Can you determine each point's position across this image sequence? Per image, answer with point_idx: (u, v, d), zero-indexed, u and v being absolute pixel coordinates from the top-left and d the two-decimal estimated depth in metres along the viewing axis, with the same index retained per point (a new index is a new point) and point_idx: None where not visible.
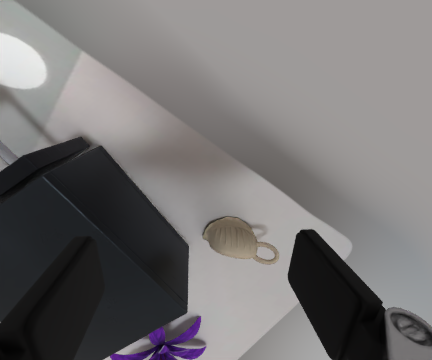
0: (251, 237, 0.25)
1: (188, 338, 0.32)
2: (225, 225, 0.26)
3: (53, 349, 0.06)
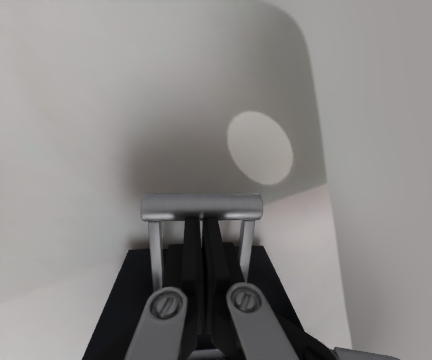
0: None
1: None
2: None
3: None
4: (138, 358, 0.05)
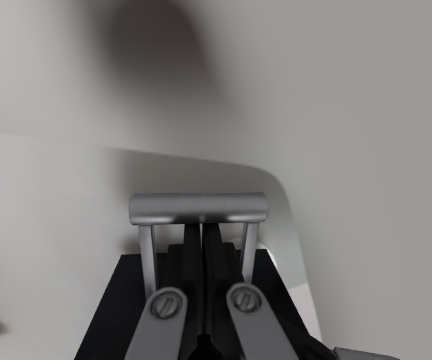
0: None
1: None
2: None
3: None
4: (138, 358, 0.05)
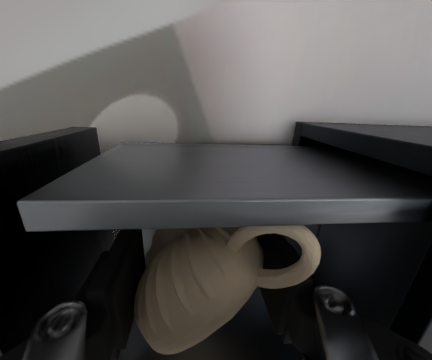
0: (203, 244, 0.08)
1: None
2: None
3: (122, 313, 0.07)
4: None
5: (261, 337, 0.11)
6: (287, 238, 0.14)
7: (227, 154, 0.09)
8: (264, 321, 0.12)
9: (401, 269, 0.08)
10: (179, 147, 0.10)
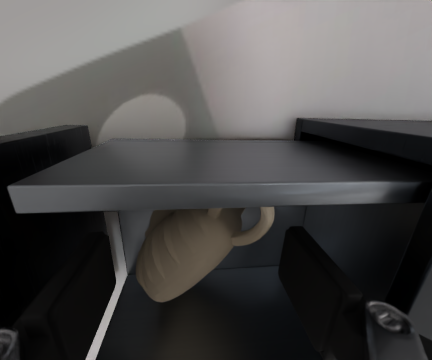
0: (189, 214, 0.10)
1: None
2: None
3: (73, 337, 0.06)
4: None
5: (245, 321, 0.11)
6: (273, 229, 0.14)
7: (209, 148, 0.10)
8: (249, 307, 0.12)
9: (370, 252, 0.09)
10: (165, 142, 0.11)
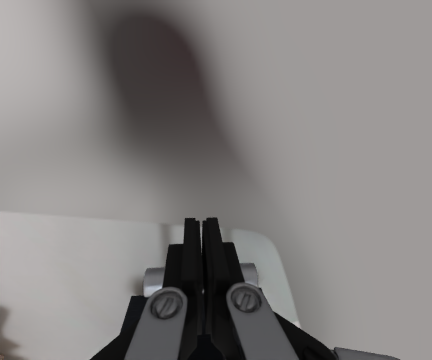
0: None
1: None
2: None
3: None
4: (138, 358, 0.05)
5: None
6: None
7: None
8: None
9: None
10: None
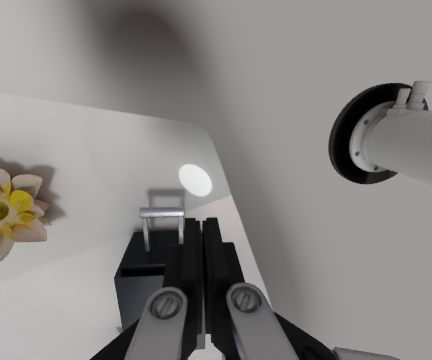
0: None
1: None
2: None
3: None
4: (138, 358, 0.05)
5: None
6: None
7: None
8: None
9: None
10: None
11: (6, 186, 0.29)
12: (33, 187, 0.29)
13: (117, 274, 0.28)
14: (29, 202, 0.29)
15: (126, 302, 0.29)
